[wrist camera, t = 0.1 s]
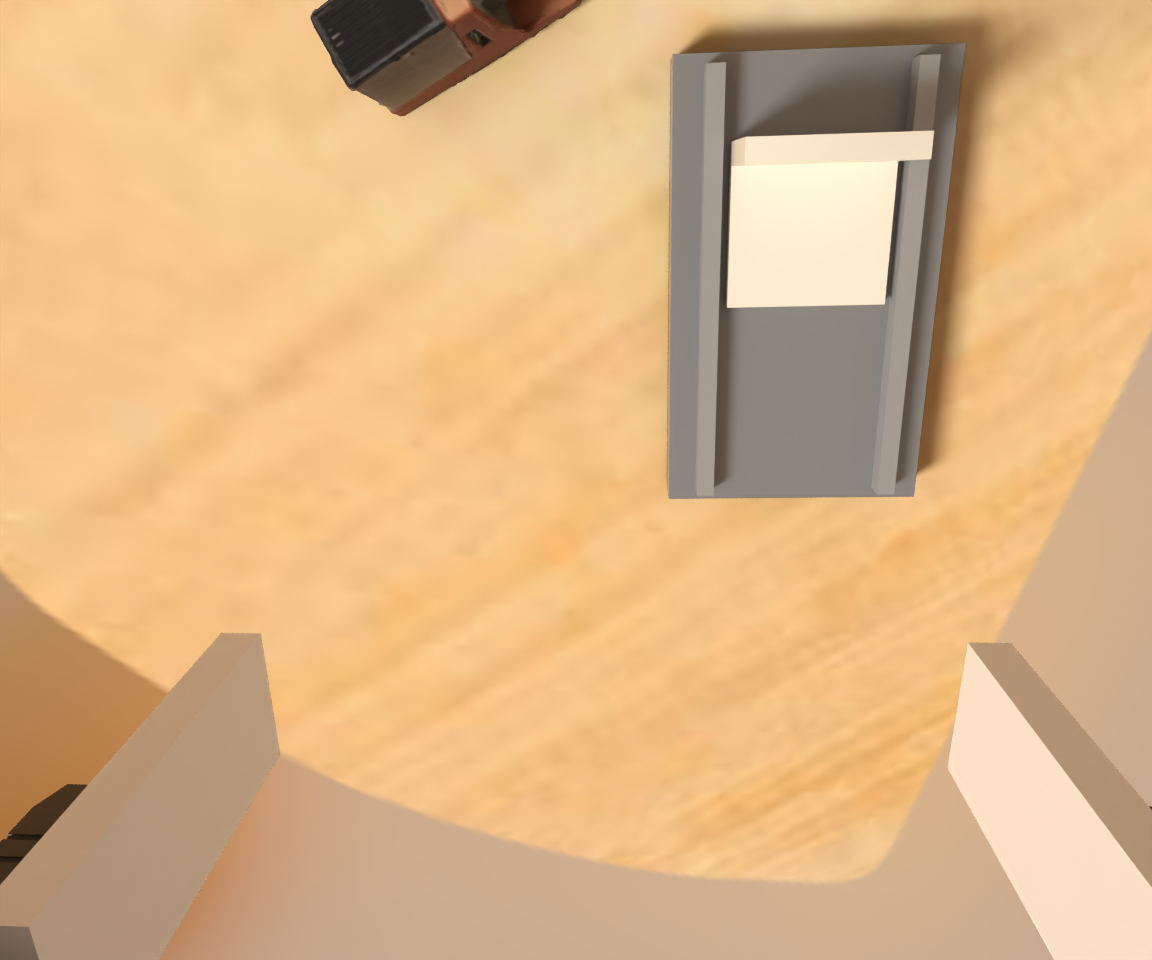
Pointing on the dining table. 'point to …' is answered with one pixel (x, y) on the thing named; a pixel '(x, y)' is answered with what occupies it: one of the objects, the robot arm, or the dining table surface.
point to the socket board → (802, 333)
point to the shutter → (814, 217)
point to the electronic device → (424, 42)
